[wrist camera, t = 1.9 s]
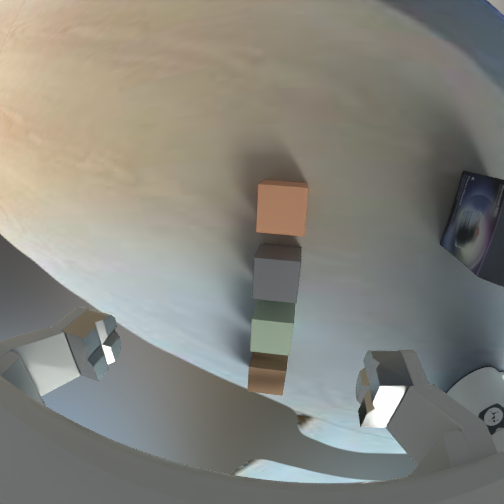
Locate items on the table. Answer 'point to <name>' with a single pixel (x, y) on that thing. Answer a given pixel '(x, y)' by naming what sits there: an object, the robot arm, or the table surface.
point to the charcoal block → (276, 273)
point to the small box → (478, 226)
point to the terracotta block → (282, 207)
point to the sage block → (272, 327)
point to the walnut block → (267, 373)
